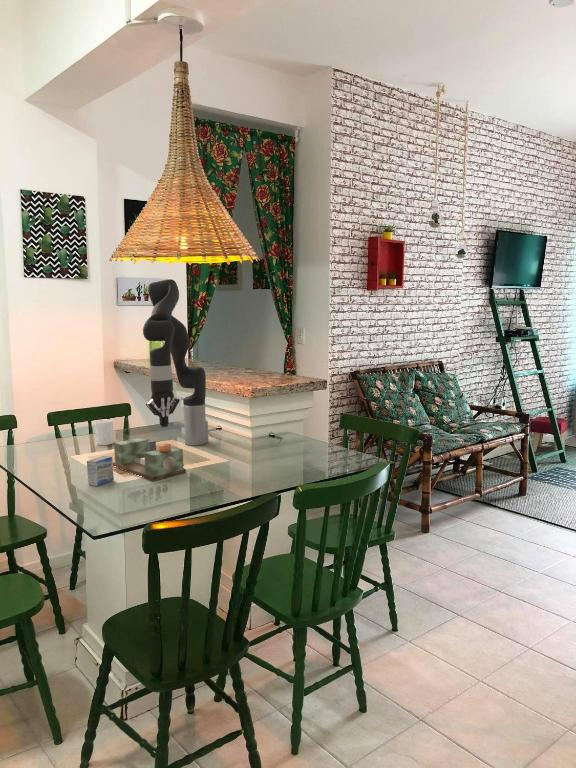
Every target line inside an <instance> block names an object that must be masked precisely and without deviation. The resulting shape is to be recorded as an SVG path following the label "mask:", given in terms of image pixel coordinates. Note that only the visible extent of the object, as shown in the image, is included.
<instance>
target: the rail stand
mask: <svg viewBox="0 0 576 768" xmlns="http://www.w3.org/2000/svg"><path fill="white" fill-rule="evenodd" d="M147 441H150V439H148V438H145V437H137V438H133V439H132V438H131V439H126V440H123V441H117V442H116V441H115V442H113V446H114V462H113V466H116V467H118V468H121V469H123V470H122V471H124V470H126V471H128V472H127V473H129V472H131V473H133V474H132V475H134V474H136V475H135V476H137V475H139V476H142V477H144V478H143V479H145V478H146V479H145V480H147V479H148V480H147V481H150V482H155V481H160V480H163V479H167V478H170V477H175V476H180V475H183V474H186V473H187V469H186V468H184V453H183V452H184V451H183V448H180V447H176V446H171V451H169V452H160V451H159V449H156V450H155V451H150V452H147ZM140 458H145V465H142V464H140ZM116 467H115V468H116ZM118 468H117V469H118ZM121 469H120V470H121ZM126 471H125V472H126ZM131 473H130V474H131ZM139 476H138V477H139ZM142 477H141V478H142Z"/></svg>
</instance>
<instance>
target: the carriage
mask: <svg viewBox="0 0 576 768" xmlns="http://www.w3.org/2000/svg"><path fill="white" fill-rule="evenodd" d="M155 450H157V442H156V440H154V439H151V440H150V439H149V441H147V452H150V451H155ZM140 464H142V465H145V458H140Z"/></svg>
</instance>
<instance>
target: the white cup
mask: <svg viewBox="0 0 576 768" xmlns="http://www.w3.org/2000/svg"><path fill="white" fill-rule="evenodd" d="M94 431H95V438H96V444H97V445H98V446H108V445H112V444H114V420H113V419H98V420H94Z"/></svg>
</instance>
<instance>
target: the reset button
mask: <svg viewBox="0 0 576 768" xmlns="http://www.w3.org/2000/svg"><path fill="white" fill-rule="evenodd" d="M171 447H172V445H171V443H161V444H159V445H158V450H159V451H160V452H169V451H171Z"/></svg>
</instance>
